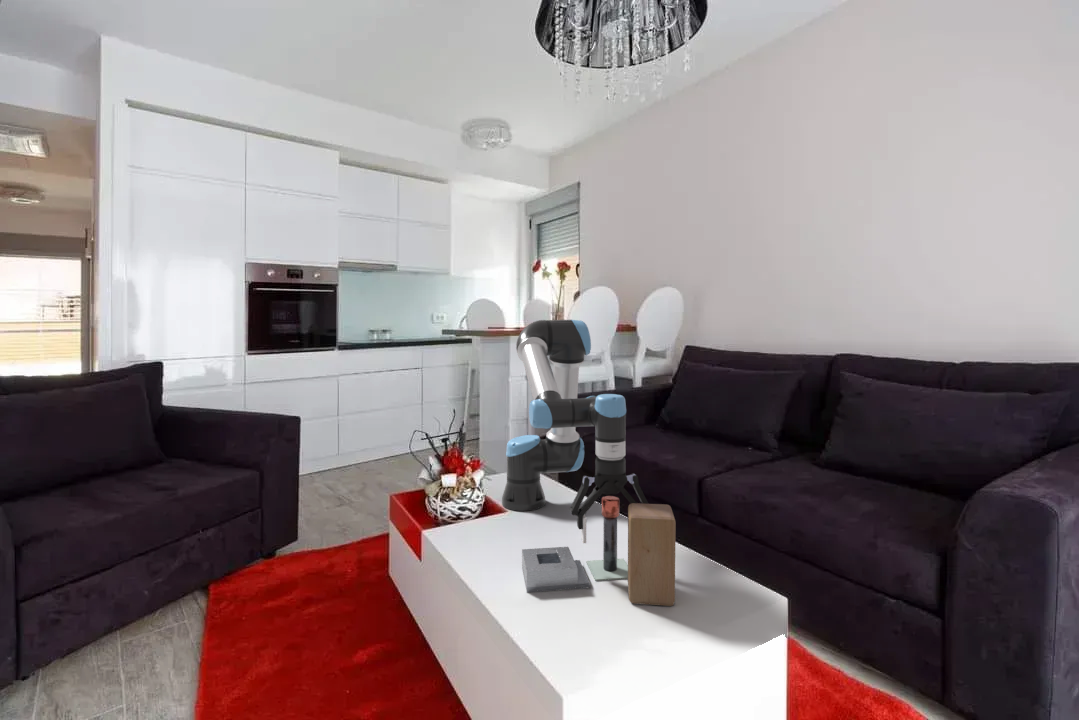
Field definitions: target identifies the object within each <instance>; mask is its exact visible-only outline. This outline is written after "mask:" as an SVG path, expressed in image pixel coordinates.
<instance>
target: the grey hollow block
mask: <svg viewBox="0 0 1079 720" xmlns="http://www.w3.org/2000/svg"><path fill="white" fill-rule="evenodd" d="M572 554H573V553H572V552H571V549H570V547H569V546H558V547H557V546H556V547H542V548H541V547H539V548H537V547H536V548H521V557H522V558H521V570H522V575H523V580H524V584H525V590H526V593H535V592H536V593H539V592H549V591H551V592H553V591H554V592H555V591H565V590H577V589H578V590H579V589H582V590H583V589H591V582H590V579H589V578H588V576H587V573H586V570H585V568H584V567H583V564H582V562H581V560H580V559H579V560H578V559H577V560H575V558H574V556H573V555H572Z"/></svg>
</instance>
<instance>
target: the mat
mask: <svg viewBox="0 0 1079 720" xmlns="http://www.w3.org/2000/svg"><path fill="white" fill-rule="evenodd" d="M586 565H587V566H588V568H589V571H590V573H591V575H592V576H593V580H594V581H595V582H602V581H615V580H617V581H618V580H628V562H627V561H626V559H625V558H617V570H616V571H614V572H608V571H605V570H604V569H603V559H595V560H586Z"/></svg>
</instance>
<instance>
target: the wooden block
mask: <svg viewBox="0 0 1079 720" xmlns="http://www.w3.org/2000/svg"><path fill="white" fill-rule="evenodd" d="M676 528H677V527H676V519H675V516H674V512H673V510H672V507H671V505H669V504H664V503H663V504H662V503H648V504H642V503H641V502H639V503H638V502H637V503H629V505H628V507H627V565H628V579H627V592H628V600H629V602H630V603H632V604H638V605H651V606H664V607H666V606H667V607H672V606H674V604H675V602H676V534H677V533H676V532H677V531H676Z"/></svg>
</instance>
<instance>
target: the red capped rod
mask: <svg viewBox="0 0 1079 720" xmlns="http://www.w3.org/2000/svg"><path fill="white" fill-rule="evenodd" d="M601 515H602V516H603V551H602V552H603V559H602V560H603V569H604V570H605V571H608V572H614V571H616V570H617V559H618V518H619V516H620V498H619V497H618V496H614V495H606V496H602V497H601Z"/></svg>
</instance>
